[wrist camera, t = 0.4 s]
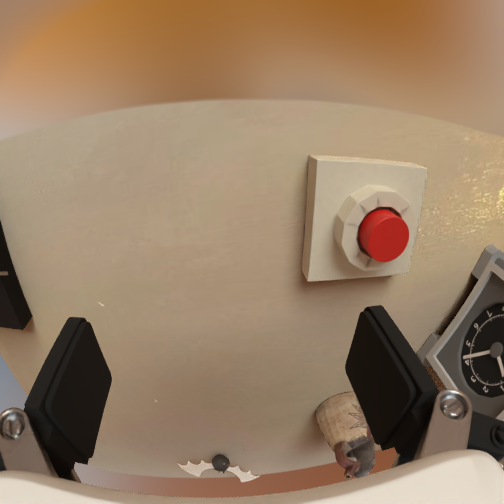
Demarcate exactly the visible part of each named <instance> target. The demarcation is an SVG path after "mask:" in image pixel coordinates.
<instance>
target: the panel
mask: <svg viewBox="0 0 504 504" xmlns="http://www.w3.org/2000/svg"><path fill="white" fill-rule="evenodd" d="M31 318H32V314H31V312H30V310H29V307H28V305H27V302H26V300H25V297H24V295H23V292H22V290H21V287H20V284H19V281H18V279H17V276H16V273H15V270H14V267H13V264H12V261H11V258H10V254H9V251H8V248H7V244H6V241H5V237H4V233H3V229H2V226H1V221H0V327H4V328H12V329H21V330H23V329H24V328H25V326H26V325H27V323H28V322H29V320H30V319H31Z"/></svg>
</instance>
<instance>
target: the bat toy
mask: <svg viewBox="0 0 504 504" xmlns="http://www.w3.org/2000/svg"><path fill="white" fill-rule="evenodd" d="M177 464H178V463H177ZM178 465H179V466H180V467H181V468H182V469H184V470H185V471H187V472H188V473H190V474H192V475H195V476H198V477H200V474H201V473H202V472H203V471H204V470H206V469H210V468H213V469H215V470H217V471H223V473H224V472H225V470H227V471H230V472H232V473H234V474H235V475H237V476H238V477H239V478H240V480H241V482H246V481H250V480H253V479H255V478H257V477H259V476H260V475H259V476H253V475H251V473H250V471H249V472H242V471H241V470H240V469H239V466H236V467H234V468H232V467H230V466H229V465H230V462H229V459H228V458H227V457H225V456H223V455H218V456H215V457H214V458H213V459H212V463H209V464H208V463H205V462H203V460H202V461H201V463H200V464H198V465H194V464H192V463H190V462H189V461H188V464H187V465H180V464H178Z"/></svg>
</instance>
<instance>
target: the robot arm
mask: <svg viewBox="0 0 504 504" xmlns="http://www.w3.org/2000/svg"><path fill="white" fill-rule="evenodd" d="M345 369H346V373H347V376H348V378H349V381H350V383H351V385H352V388H353V390H354V392H355V395H356V397H357V399H358V402H359V404H360V407H361V409H362V411H363V414H364V416H365V419H366V421H367V424H368V426H369V429H370V431H371V434H372V436H373V439H374V441H375V443H376V444H378V445H379V444H380V446H381V448H382V451H383V450H386V449H389V448H393V447H395V450H396V452H397V455H396V458H395V460H394V463H393V465H392V467H391V468H390V469H388V470H384V471H381V472H378V473H374V474H370V475H367V476H363V477H360V478H356V479H353V480H349V481H344V482H340V483H335V484H331V485H326V486H321V487H316V488H311V489H305V490H300V491H292V492H285V493H278V494H268V495H258V496H247V497H246V496H245V497H221V498H195V497H173V496H159V495H149V494H141V493H133V492H126V491H119V490H113V489H108V488H103V487H97V486H93V485H88V484H83V483H81V481H80V479H79V477H78V476H77V474H76V472H75V470H74V464H75V462H78V463H82V464H88V460H89V458H92V456H93V454H94V449H95V445H96V440H97V436H98V432H99V428H100V423H101V419H102V416H103V412H104V408H105V404H106V400H107V397H108V393H109V389H110V386H111V382H112V377H111V373H110V370H109V368H108V366H107V364H106V361H105V359H104V356H103V354H102V352H101V349H100V347H99V344H98V342H97V339H96V336H95V334H94V331H93V328H92V326H91V324H90V322H87V321H86V319H85V318H78V317H70V318H68V320H67V321H66V323H65V325H64V327H63V328H62V330H61V332H60V334H59V336H58V337H57V339H56V341H55V343H54V345H53V347H52V349H51V351H50V352H49V354H48V356H47V358H46V360H45V362H44V364H43V366H42V368H41V370H40V372H39V374H38V376H37V379H36V381H35V383H34V385H33V387H32V389H31V391H30V394H29V396H28V398H27V400H26V403H25V408H24V410H21V409H19V408H9V409H6V410H5V411H3V412H2V413H1V414H0V504H504V421H502V420H499V419H496V418H493V417H490V416H487V415H484V414H481V413H478V412H475V411H473V410H472V404H471V401H470V399H469V398H468V397H467V395H465V394H464V393H463V392H461V391H459V390H457V389H445V390H443V391H441V392H439V390H438V389H437V386H436V384H435V383H434V381H433V380H432V378H431V377H430V375H429V373H428V372H427V370H426V369H425V367H424V366H423V364H422V363H421V361H420V360H419V358H418V357H417V355H416V354H415V352H414V351H413V349H412V348H411V346H410V345H409V343H408V342H407V340H406V339H405V337H404V336H403V334H402V333H401V331H400V330H399V329H398V327H397V326H396V324H395V323H394V321H393V320H392V319H391V317H390V316H389V314H388V313H387V312H386V310H385V309H384V307H383V306H381V305H379V306H371V307H366V308H365V309H364V311H363V312H361V313H360V315H359V319H358V323H357V327H356V330H355V334H354V337H353V341H352V344H351V348H350V351H349V354H348V358H347V361H346V365H345Z"/></svg>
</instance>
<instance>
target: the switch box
mask: <svg viewBox="0 0 504 504" xmlns="http://www.w3.org/2000/svg"><path fill="white" fill-rule="evenodd" d="M426 176H427V168H425V167H423V166H420V165H417V164H415V163H408V162H399V161H390V160H379V159H368V158H354V157H339V156H318V155H309V166H308V186H307V203H306V219H305V233H304V246H303V258H302V271H303V273H304V275H305V277H306V279H307V281H308V282H311V281H326V280H340V279H353V278H366V277H378V276H389V275H400V274H407V273H408V269H409V265H410V261H411V257H412V253H413V248H414V244H415V239H416V234H417V230H418V225H419V219H420V214H421V208H422V203H423V196H424V190H425V183H426ZM379 209H386V210H389V211H391V212H393V213H394V214H396V215H397V216H398V217H400V218H401V219H403V220H404V221H405V222H406V224H407V226H408V229H409V241H408V244H407V246H406V248H405V250H404V251H403V252H402V254H401V255H400V256H398V257H397V258H396V259H394V260H392V261H389V262H379V261H376V260H375V259H373V258H372V257H371V256H370V255H369V254H368V252H367V251H366V250H365V249H364V248H363V247H362V246H361V244H360V241H359V229H360V226H361V224H362V222H363V220H364V219H365V218H366V216H367V215H369V214H370V213H371V212H373V211H375V210H379Z"/></svg>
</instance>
